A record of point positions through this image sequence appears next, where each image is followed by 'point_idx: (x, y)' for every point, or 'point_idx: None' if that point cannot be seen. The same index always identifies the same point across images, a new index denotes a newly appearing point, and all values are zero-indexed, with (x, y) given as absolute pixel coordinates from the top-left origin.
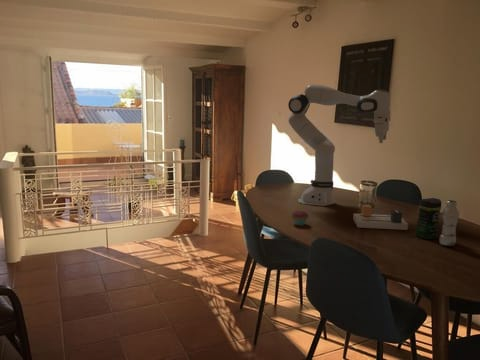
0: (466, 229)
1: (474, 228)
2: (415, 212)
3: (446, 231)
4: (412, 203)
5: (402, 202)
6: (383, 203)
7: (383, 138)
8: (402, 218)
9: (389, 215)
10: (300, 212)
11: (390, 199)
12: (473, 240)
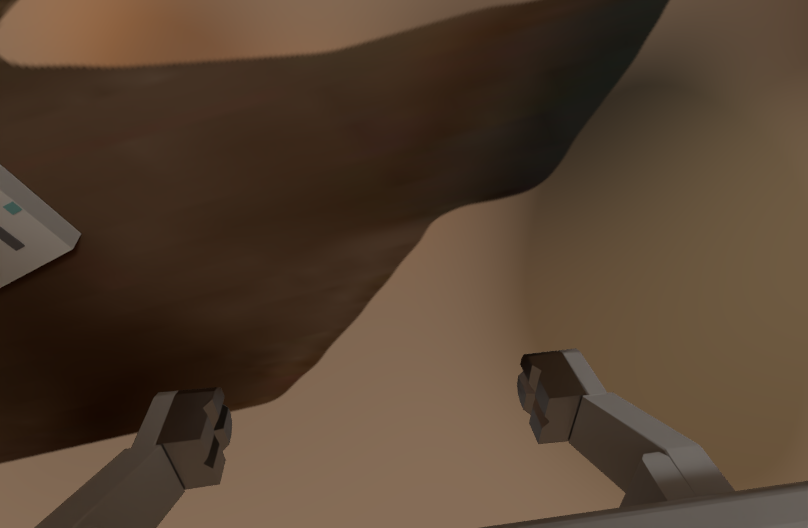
0: None
1: None
2: (320, 236)
3: None
4: (497, 180)
5: (498, 137)
6: (424, 56)
7: (539, 381)
8: (26, 273)
9: (12, 214)
10: None
11: (546, 63)
12: (69, 444)
